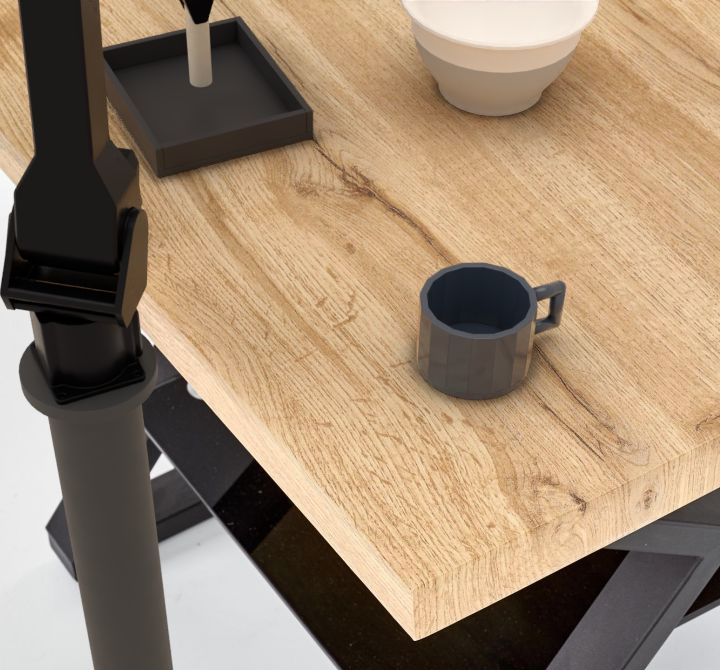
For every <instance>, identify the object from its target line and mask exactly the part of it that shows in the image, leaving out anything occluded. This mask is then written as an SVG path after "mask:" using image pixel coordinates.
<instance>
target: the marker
mask: <svg viewBox="0 0 720 670" xmlns="http://www.w3.org/2000/svg"><path fill="white" fill-rule="evenodd" d="M184 6H185V4H184ZM184 19H185V20H184V21H185V28H186V34H187V48H188V62H189V76H190V83H191V84H192V85H193V86H195V87H206V86H209V85H210V84H211V83H212V67H211V50H210V33H209V23H210V18H209V19H208V21H207V22H206V23H202V24H198V25H196V24H194V22H193V21H192V19H191V17H190V14H189V12H188V10H187V8H186V6H185V10H184Z"/></svg>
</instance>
